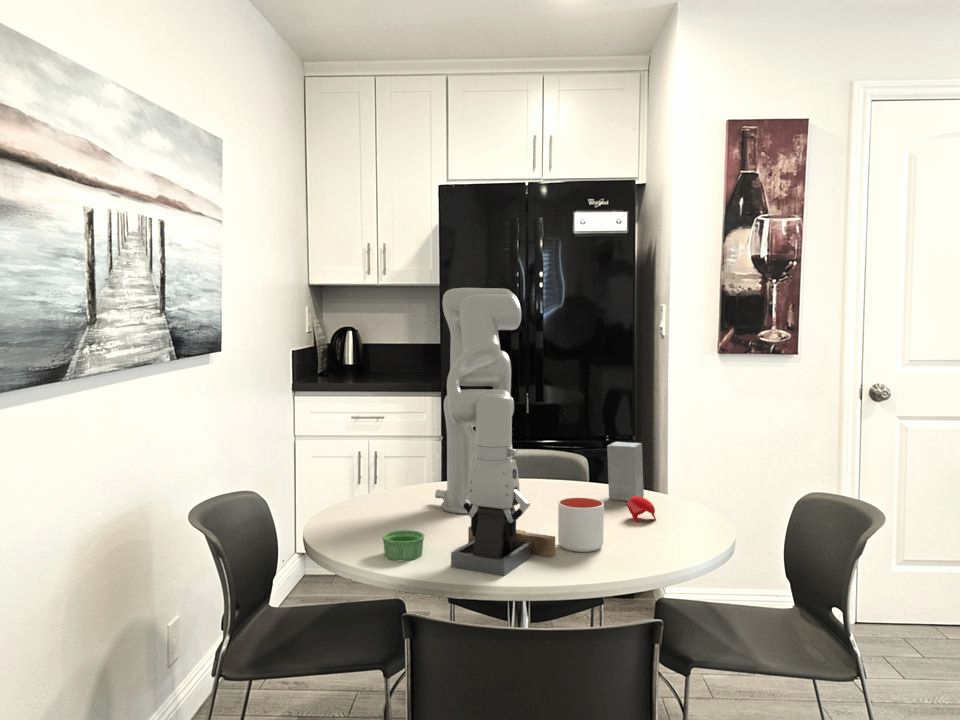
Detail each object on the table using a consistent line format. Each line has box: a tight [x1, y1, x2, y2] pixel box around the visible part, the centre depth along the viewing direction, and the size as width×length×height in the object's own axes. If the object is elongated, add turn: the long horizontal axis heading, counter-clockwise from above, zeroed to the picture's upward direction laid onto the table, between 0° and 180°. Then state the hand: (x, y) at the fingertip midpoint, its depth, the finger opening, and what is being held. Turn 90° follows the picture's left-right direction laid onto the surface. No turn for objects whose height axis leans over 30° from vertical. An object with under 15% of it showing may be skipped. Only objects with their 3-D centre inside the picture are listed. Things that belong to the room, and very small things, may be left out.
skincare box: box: [606, 441, 645, 502], centre depth 221 cm, size 8×7×16 cm
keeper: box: [450, 539, 534, 577], centre depth 166 cm, size 12×15×3 cm
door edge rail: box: [467, 525, 556, 558], centre depth 174 cm, size 20×2×4 cm, turn 64°
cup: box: [557, 497, 605, 553], centre depth 176 cm, size 10×10×10 cm
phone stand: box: [473, 507, 514, 559], centre depth 166 cm, size 9×6×12 cm, turn 154°
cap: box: [626, 496, 657, 523], centre depth 199 cm, size 8×6×6 cm
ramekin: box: [382, 529, 425, 561], centre depth 170 cm, size 9×9×4 cm
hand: (493, 536), depth 166 cm, fingers open, 7 cm apart
